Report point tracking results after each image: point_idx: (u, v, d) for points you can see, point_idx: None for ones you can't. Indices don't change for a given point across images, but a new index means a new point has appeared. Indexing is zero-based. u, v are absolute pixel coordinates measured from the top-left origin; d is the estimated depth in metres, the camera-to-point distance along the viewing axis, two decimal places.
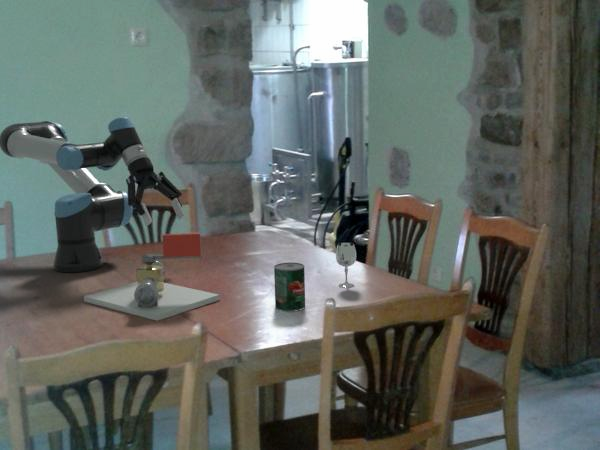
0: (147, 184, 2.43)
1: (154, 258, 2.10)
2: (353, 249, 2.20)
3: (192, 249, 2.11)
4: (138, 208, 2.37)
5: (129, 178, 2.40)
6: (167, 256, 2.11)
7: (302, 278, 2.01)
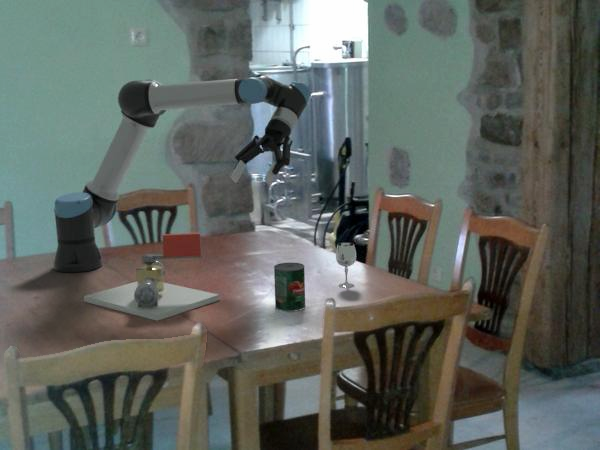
0: None
1: (154, 258, 2.10)
2: (353, 249, 2.20)
3: (192, 249, 2.11)
4: (279, 168, 2.28)
5: (291, 142, 2.33)
6: (167, 256, 2.11)
7: (302, 278, 2.01)
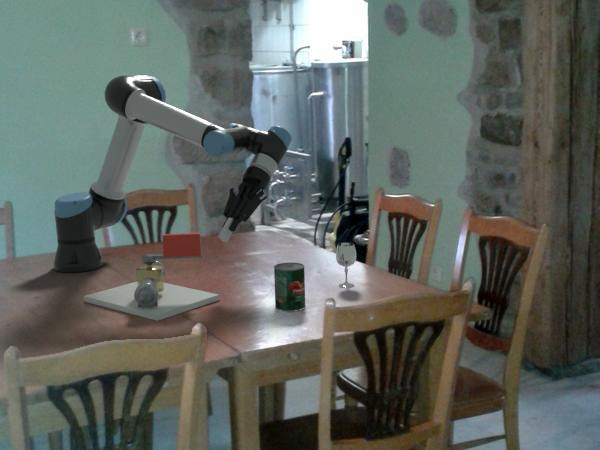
0: None
1: (154, 258, 2.10)
2: (353, 249, 2.20)
3: (192, 249, 2.11)
4: (236, 224, 2.20)
5: (264, 198, 2.22)
6: (167, 256, 2.11)
7: (302, 278, 2.01)
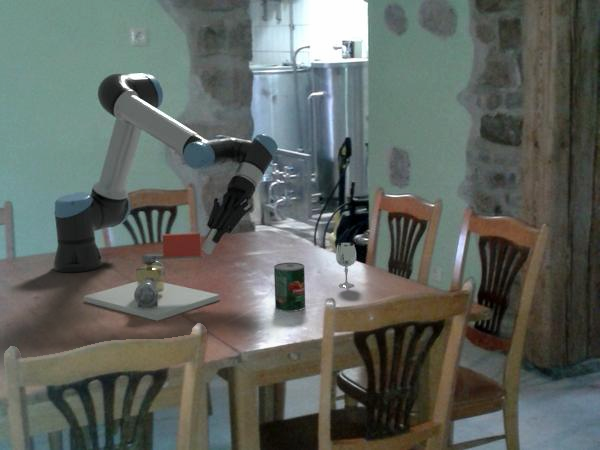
0: None
1: (154, 258, 2.10)
2: (353, 249, 2.20)
3: (192, 249, 2.11)
4: (220, 236, 2.15)
5: (248, 208, 2.17)
6: (167, 256, 2.11)
7: (302, 278, 2.01)
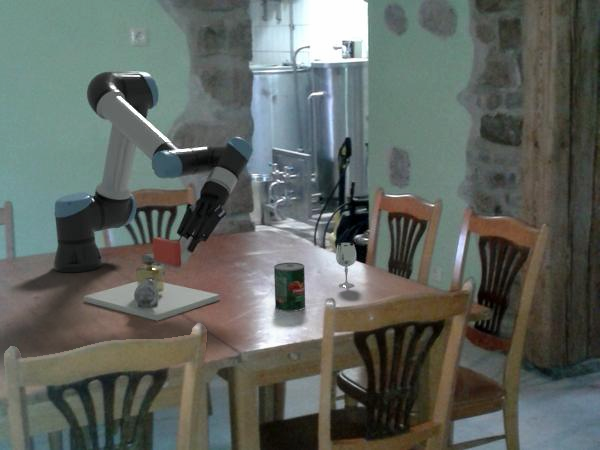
0: None
1: (149, 259, 2.10)
2: (353, 249, 2.20)
3: (170, 257, 2.02)
4: (195, 244, 2.06)
5: (223, 215, 2.08)
6: (156, 260, 2.07)
7: (302, 278, 2.01)
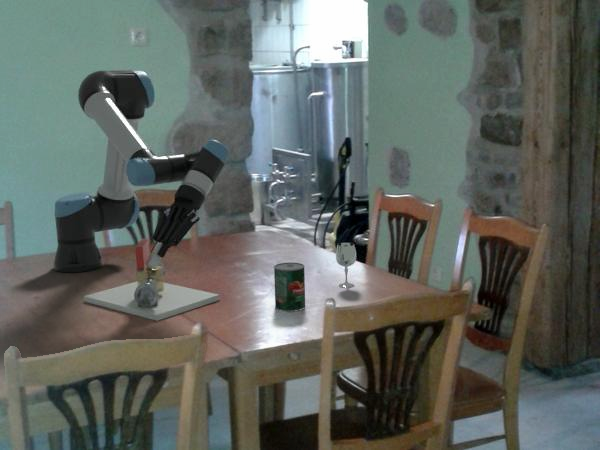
0: None
1: None
2: (353, 249, 2.20)
3: None
4: (165, 249, 2.00)
5: (196, 220, 2.02)
6: None
7: (302, 278, 2.01)
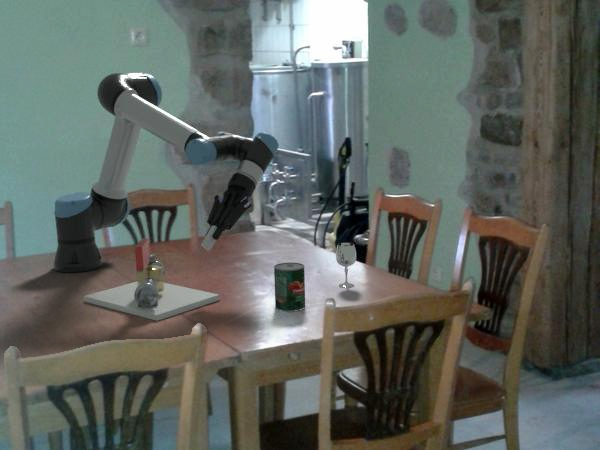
0: None
1: None
2: (353, 249, 2.20)
3: None
4: (220, 232, 2.16)
5: (248, 206, 2.18)
6: None
7: (302, 278, 2.01)
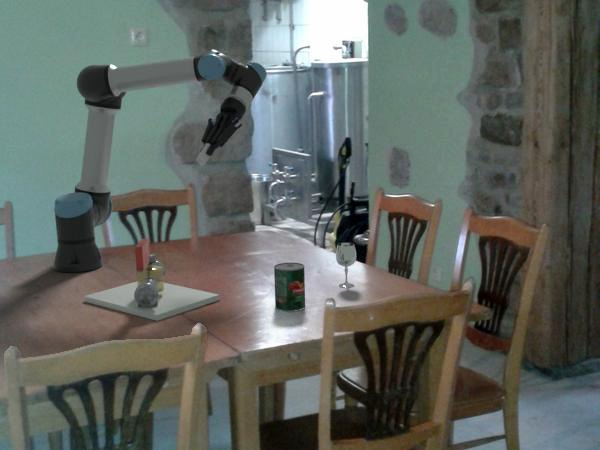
0: None
1: None
2: (353, 249, 2.20)
3: None
4: (213, 149, 2.37)
5: (239, 125, 2.39)
6: None
7: (302, 278, 2.01)
